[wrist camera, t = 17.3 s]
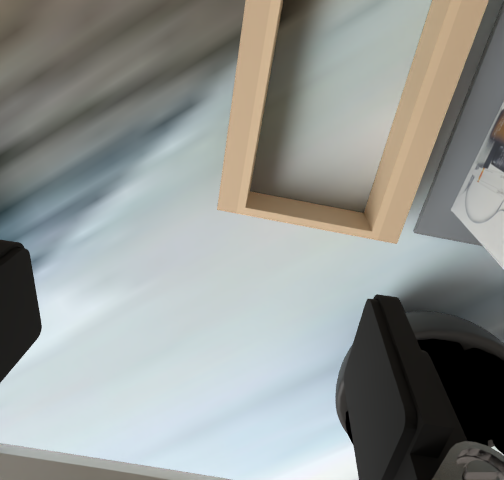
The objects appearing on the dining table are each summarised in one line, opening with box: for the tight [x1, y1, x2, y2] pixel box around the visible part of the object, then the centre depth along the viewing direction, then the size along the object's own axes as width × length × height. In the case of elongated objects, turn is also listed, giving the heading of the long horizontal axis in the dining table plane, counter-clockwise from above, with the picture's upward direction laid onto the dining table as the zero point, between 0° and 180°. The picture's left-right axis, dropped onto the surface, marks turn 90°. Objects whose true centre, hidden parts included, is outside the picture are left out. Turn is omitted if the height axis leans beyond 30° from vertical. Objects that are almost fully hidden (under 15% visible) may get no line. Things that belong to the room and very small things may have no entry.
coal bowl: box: [336, 311, 504, 454], centre depth 43 cm, size 20×20×19 cm
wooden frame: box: [217, 0, 489, 244], centre depth 36 cm, size 27×19×5 cm
